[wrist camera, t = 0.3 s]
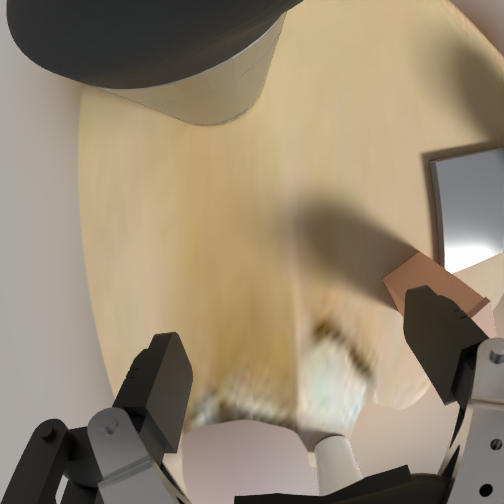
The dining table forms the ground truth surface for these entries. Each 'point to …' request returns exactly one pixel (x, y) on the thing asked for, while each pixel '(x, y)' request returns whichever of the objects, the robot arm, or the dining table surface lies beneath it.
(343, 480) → the drinking glass
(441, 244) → the slate coaster
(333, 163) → the dining table surface
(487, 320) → the tea tin
